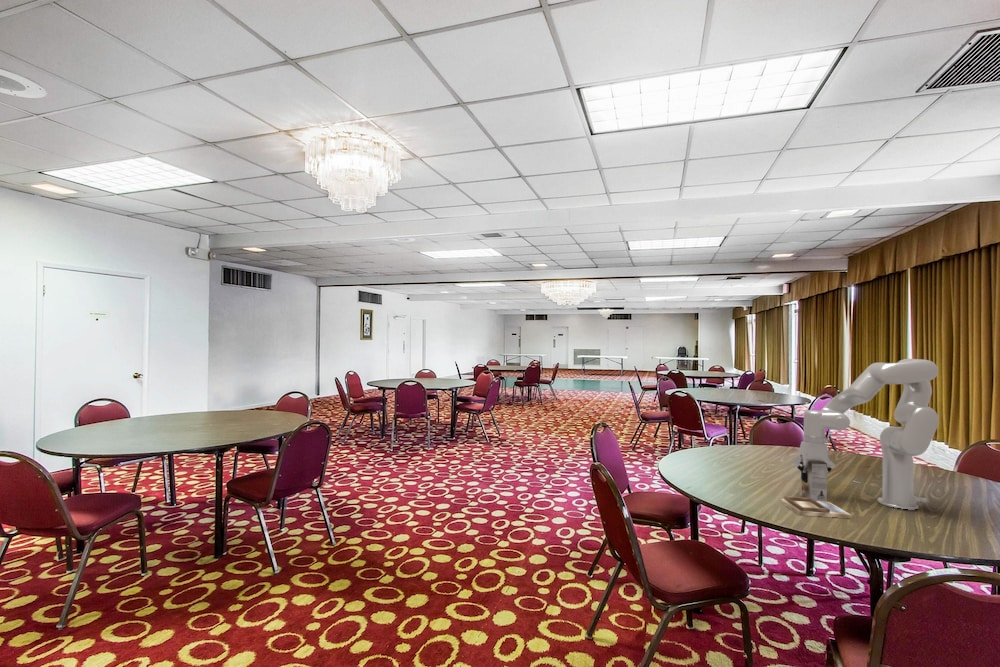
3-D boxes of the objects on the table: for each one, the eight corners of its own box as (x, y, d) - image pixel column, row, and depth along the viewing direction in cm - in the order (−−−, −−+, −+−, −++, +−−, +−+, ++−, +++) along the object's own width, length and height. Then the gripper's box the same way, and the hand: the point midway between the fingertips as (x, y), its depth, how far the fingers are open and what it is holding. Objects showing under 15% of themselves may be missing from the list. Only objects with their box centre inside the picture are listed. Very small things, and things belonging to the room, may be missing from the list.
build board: (828, 505, 183) (828, 498, 183) (851, 518, 169) (851, 511, 169) (781, 502, 185) (781, 495, 185) (798, 515, 171) (798, 508, 171)
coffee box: (800, 493, 197) (800, 456, 197) (817, 495, 196) (817, 457, 196) (810, 500, 188) (810, 461, 188) (827, 502, 187) (828, 463, 187)
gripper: (831, 438, 195) (831, 480, 195) (787, 437, 197) (787, 478, 197) (841, 442, 187) (841, 486, 187) (796, 440, 190) (796, 483, 189)
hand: (813, 481), depth 192 cm, fingers closed on coffee box, 6 cm apart
